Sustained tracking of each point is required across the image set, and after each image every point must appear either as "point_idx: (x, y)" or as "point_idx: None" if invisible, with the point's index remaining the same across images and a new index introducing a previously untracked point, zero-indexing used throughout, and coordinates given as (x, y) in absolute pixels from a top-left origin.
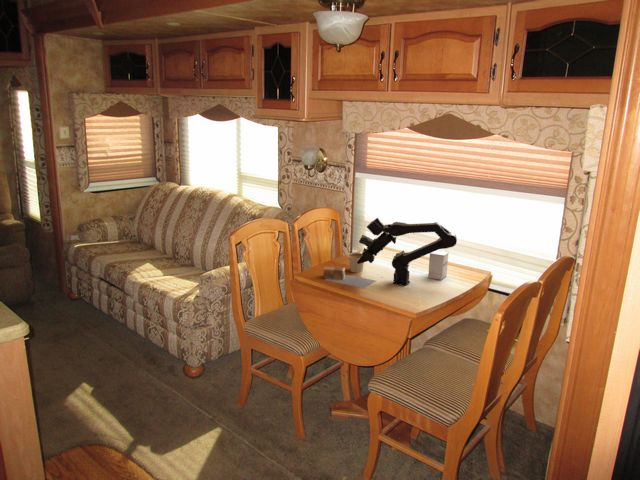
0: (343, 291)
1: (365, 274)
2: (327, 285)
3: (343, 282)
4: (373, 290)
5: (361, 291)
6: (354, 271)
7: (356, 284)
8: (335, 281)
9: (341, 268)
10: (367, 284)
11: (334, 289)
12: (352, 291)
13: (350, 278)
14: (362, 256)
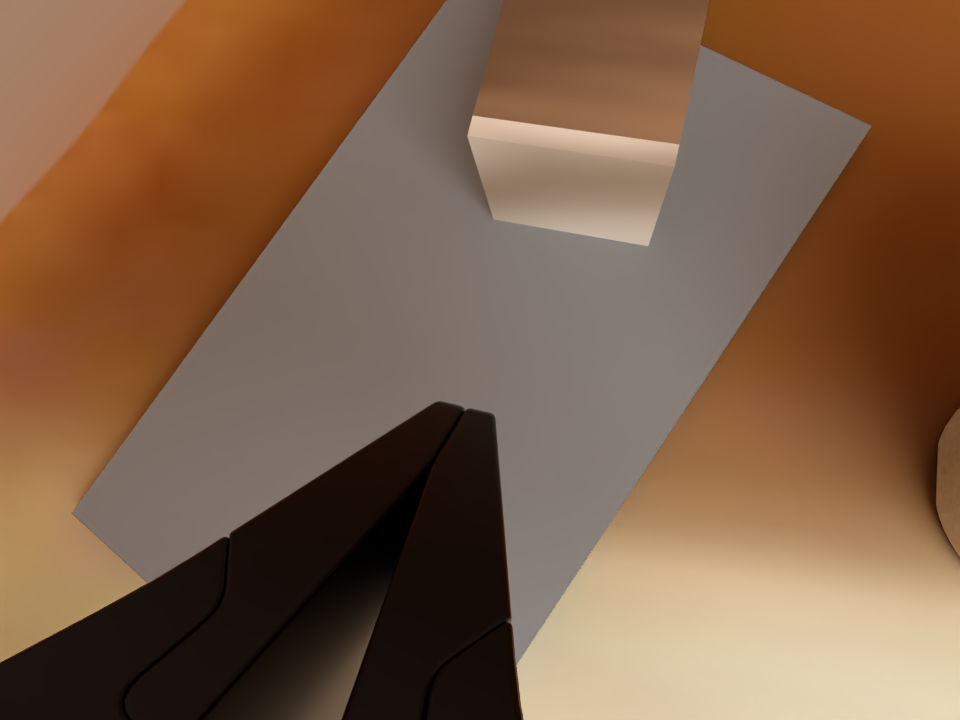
0: (46, 216)
1: (862, 663)
2: (286, 13)
3: (352, 216)
4: (15, 654)
5: (7, 460)
6: (952, 437)
7: (246, 410)
8: (402, 101)
9: (630, 87)
10: None
11: (131, 105)
12: (28, 333)
13: (546, 334)
14: (46, 666)
